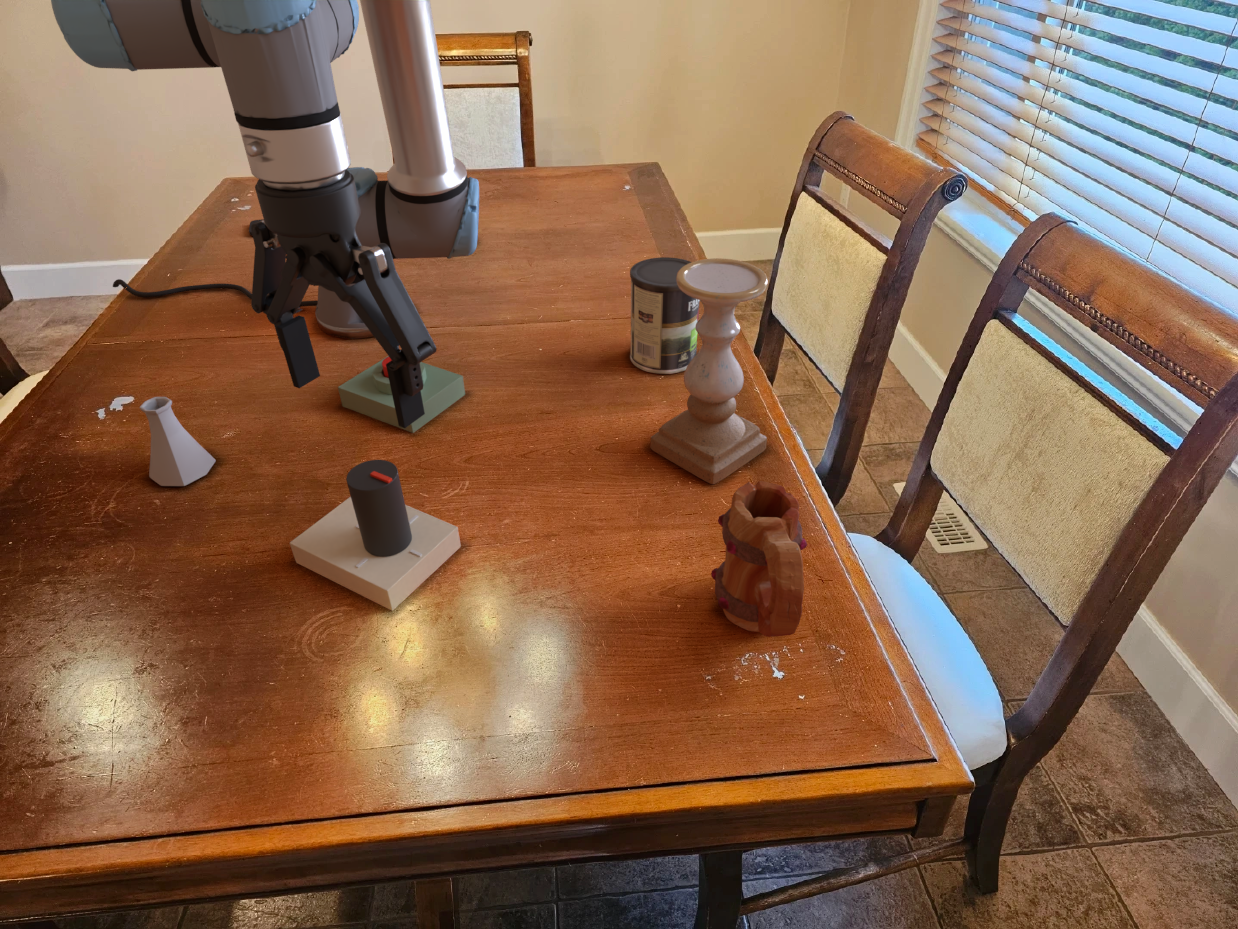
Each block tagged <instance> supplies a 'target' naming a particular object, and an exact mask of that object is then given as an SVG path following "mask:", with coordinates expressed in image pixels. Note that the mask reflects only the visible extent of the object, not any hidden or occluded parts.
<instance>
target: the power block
mask: <svg viewBox="0 0 1238 929" xmlns="http://www.w3.org/2000/svg"><path fill="white" fill-rule="evenodd" d="M387 357H389V356H388V355H386V356H385V357H384V358H382V359H381V360H379V361H378V362H376V363H375V364H373V365H370V367H367V368H366V369H365V370H363V371H361V372H359V373H358V374H356V375H354V376H353V377H352V378H350V379H348V380H347V381H346V382H344V383H342V384H341V385H338V386H337V390H338V391H337V392H338V394H339V397H340V403H341V406H342V407H343V408H345V409H348V410H351V411H354V412H357V413H358V414H362V415H364V416H367V417H370V418H372V419H374V420H377V421H380V422H383V423H385V424H387V425H391V426H393V427H396V428H398V429H400V430H404V431H406V432H409V433H412V434H414V433H415V432H417V431H418V430H419V429H421V428H422V427H423V426H425V425H426V424H427V423H429V422H430V421H432V420H433V419H434V418H435V417H437V416H439V415H440V414H442V412H444V411H445V410H447V409H448V408H449V407H451V406H452V405H454V404H455V403H456V402H457V401H459V400H460V399H462V398H463V397H464V396H466V390H465V383H464V382H465V381H464V375H462V374H459V373H455V372H453V371H450V370H447V369H444V368H440V367H438V366H436V365H433V364H432V365H431V364H429V363H427V362H423V361H422V362H420V368H421V374H422V375H421V376H422V380H423V389H422V390H421V396H422V401H423V407H424V412H425V414H424V415H423V416H421V417H420V418H419V419H417V420H416V421H415V422H413V423H412V424H410V425H409V426H408V427H406V428H402V427H400V426H399V425H398V420H397V415H396V410H395V406H394V401H393V396H392V391H391V387H390V382H389V378H386V377H385V375H384V371H383V367H382V361H383V360H384V359H385V358H387Z"/></svg>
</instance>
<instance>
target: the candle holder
mask: <svg viewBox="0 0 1238 929" xmlns="http://www.w3.org/2000/svg"><path fill="white" fill-rule="evenodd" d="M690 262H691V263H689V264H687V265H685V266H683V267H682V268H681V269H680V270H679V271H678V273H677V276H676V282H677V285H678V287H679V288H680V290H681V291H682V292H684V293H685V294H687V295H688V296H690V297H692V298H695V299H698V300H700V303H701V304H702V307H703V314H702V316H701V317H700V318H699V319H698V322H697V323H696V331H697V335H698V336H699V338H700V340H701V342H702V345H701V346H700V348H699V350H698V352H696V356H695V357H694V358H693V359H692V360H691V361H690V363H689V364H688V366H687V368H686V370H685V371H684V374H683V383H684V387H685V389H686V390H687V392H688V393H689V394H690V395H689V396H688V398H687V402H686V407H687V409H686V410H684V411H682V412H680V413H679V414H678V415H676V416H674V417H672V418H671V419H669V420H668V421H666V422H665V423H663V424H662V425H661V426H660V428H658V431H657V432H656V433H654V434H653V435H651V436H650V446H649V447H650V450H652V451H653V452H654V453H657V454H658V455H659V456H661V457H662V458H664V459H666V460H668V461H670V462H671V463H673V464H675V465H676V466H678V467H679V468H681V469H683V470H685V471H686V472H688V473H690V474H692V475H694V476H695V477H697V478H699V479H701V480H703V482H706V483H708V484H710V485H716V484H717V483H720V482H721V481H722V480H724V479H726V478H727V477H728V476H730V475H732V474H733V473H734V472H736V471H738V469H740V468H742V467H743V466H745V465H747V463H749V462H750V461H752V460H753V459H755V458H756V457H758V456H759V455H760V454H762V453H763V452H764V451H766V449H767V443H768V437H767V436H766V435H764V434H762V433H761V428H760V427H759V426H758V425H756V424H755V423H754V422H751V421H750V420H748V419H746V418H744V417H742V416H740V415H738V414H737V413H735V412H736V409H737V401H736V398H735V397H737V395H738V394H739V393H740V392H741V391H742V389H743V386H744V381H745V378H744V375H745V374H744V372H743V369H742V366H741V365H740V363H739V361H738V360H737V358H736V357H735V355H734V352H733V350H732V347H731V345H732V343H733V341H734V340H735V339H736V337H737V336H738V335H739V334H740V332H741V325H740V324H739V322H738V321H737V319H736V316H735V311H736V308H737V307H738V305H739V304H741V303H745V302H748V301H751V300H754V299H757V298H758V297H760V296H761V295H762V294H764V292H765V291H766V290H767V288H768V283H769V280H768V276H767V274H766V273H765V271H763V269H761V268H760V267H758V266H756V265H754V264H752V263H749V262H747V261H743V260H738V259H733V258H732V259H731V258H720V257H719V258H704V259H697V260H694V261H690Z"/></svg>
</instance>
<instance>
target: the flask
mask: <svg viewBox="0 0 1238 929" xmlns="http://www.w3.org/2000/svg"><path fill="white" fill-rule="evenodd" d="M172 405H173V400H172V399H170V398H168V397H167V396H154V397H151V398H149V399H147V400H144V401H143V402H142V404H141V405H140V406H139V410H140V411H142V412H143V413H144V414H145V417H146V419H147V420H148V425H149V431H150V454H149V455H150V456H149V470H148V472H149V473H148V477H149V478H150V479H151V480H152V481H154V482H155V483H157V485H159V486H160V487H185V486H187V485H190V484H191V483H193V482H195V481H197V480H200V478H203V477H205V476H206V475H208V473H209V472H210V470H211V469H212V467H213V466H214V464H215V463H216V461H217V460H216V459H215V458H214V457H213V456H212V454H211V453H209V452H208V451H207V450H206V449H205V448H204V447H203V446H202V445H201V444H200V443H199V442H198V441H197V440H196V439H195V438H194V437H193V436H192V435H191V434H190V433H189V432H188V431H187V430H186V429H185V428H184V427H183V425H182V424H181V422H180V421H179V420H178V418H177V417H176V416H175V413H174V411H173V409H172Z"/></svg>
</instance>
